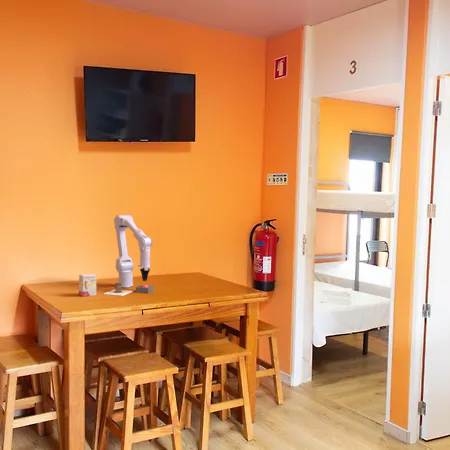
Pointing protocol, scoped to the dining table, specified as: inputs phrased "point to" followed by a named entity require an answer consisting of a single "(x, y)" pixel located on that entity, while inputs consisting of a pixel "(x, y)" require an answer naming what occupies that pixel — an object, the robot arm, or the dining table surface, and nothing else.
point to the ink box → (87, 285)
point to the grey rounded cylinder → (118, 287)
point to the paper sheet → (122, 293)
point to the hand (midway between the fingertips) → (144, 280)
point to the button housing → (144, 289)
